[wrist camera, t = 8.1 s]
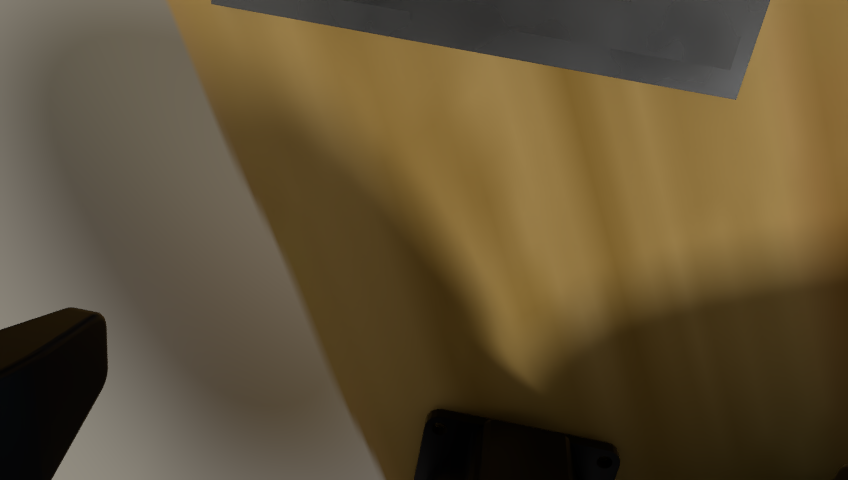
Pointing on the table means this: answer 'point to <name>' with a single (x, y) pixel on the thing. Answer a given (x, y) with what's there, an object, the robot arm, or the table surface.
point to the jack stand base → (565, 33)
